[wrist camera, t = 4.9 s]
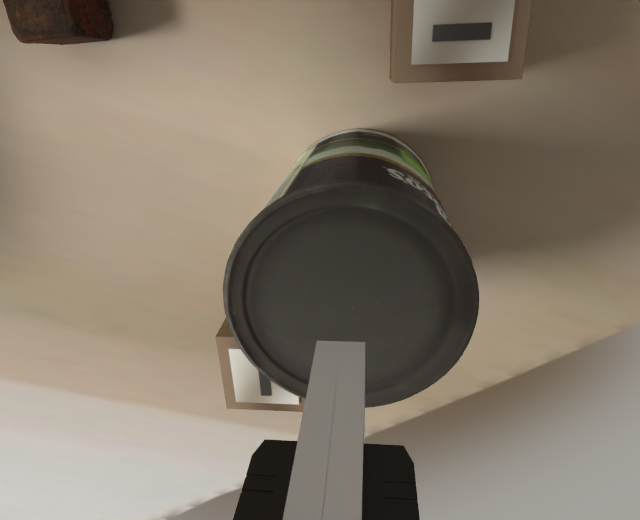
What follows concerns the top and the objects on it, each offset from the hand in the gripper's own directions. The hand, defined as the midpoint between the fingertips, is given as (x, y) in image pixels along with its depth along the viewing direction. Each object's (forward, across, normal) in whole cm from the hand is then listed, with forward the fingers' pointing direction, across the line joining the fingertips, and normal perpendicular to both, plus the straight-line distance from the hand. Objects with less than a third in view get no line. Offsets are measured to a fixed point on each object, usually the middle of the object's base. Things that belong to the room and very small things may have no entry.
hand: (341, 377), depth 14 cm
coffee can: (+19, 0, 0) cm, 19 cm away
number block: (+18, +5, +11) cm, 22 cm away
